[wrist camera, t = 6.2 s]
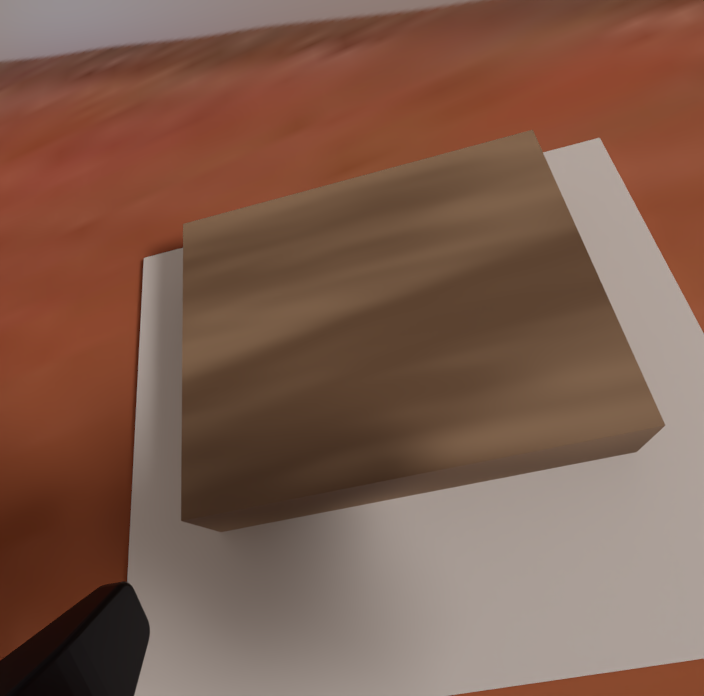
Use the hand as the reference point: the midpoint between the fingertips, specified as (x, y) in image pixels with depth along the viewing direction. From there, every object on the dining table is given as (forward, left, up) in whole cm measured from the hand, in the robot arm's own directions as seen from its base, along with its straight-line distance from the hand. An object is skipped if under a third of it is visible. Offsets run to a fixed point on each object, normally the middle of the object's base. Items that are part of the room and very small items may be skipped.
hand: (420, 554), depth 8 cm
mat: (+5, +3, -7) cm, 9 cm away
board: (+2, +1, -6) cm, 6 cm away
